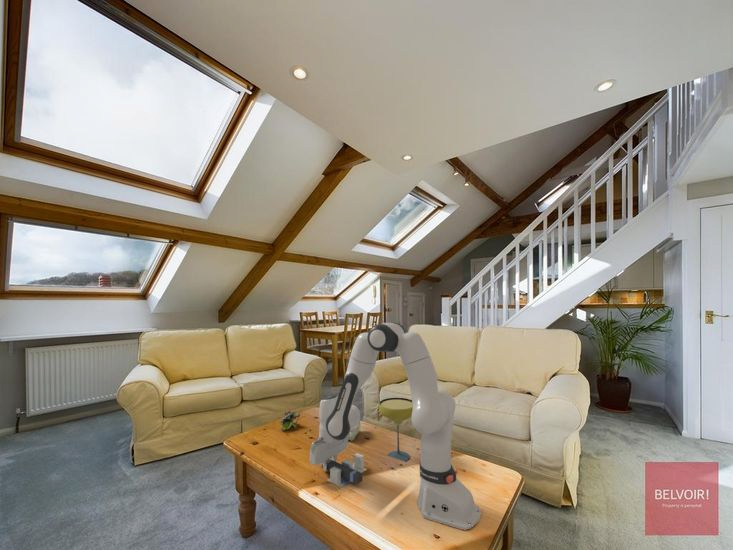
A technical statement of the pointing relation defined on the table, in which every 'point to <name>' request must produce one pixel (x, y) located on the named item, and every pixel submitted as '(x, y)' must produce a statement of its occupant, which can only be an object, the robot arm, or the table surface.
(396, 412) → the cocktail glass
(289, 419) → the passion flower
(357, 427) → the folded clay sculpture
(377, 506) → the table surface
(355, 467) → the grey and blue pillars
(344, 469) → the long dark grey plank
